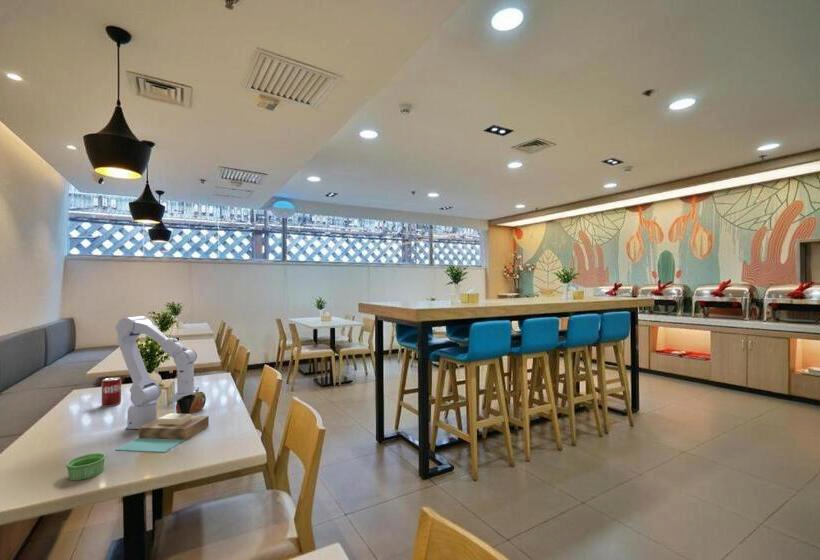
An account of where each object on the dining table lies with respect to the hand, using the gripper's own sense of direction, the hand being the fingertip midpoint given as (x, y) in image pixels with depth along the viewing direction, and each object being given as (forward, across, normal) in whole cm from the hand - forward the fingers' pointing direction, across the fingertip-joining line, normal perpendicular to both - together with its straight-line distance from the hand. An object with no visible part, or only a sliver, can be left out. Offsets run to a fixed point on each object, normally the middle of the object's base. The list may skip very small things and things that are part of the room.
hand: (185, 414), depth 154 cm
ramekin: (+5, -39, +4) cm, 39 cm away
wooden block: (+5, -6, 0) cm, 7 cm away
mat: (+5, -18, 0) cm, 19 cm away
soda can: (+5, +23, +53) cm, 58 cm away
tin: (+5, +15, +8) cm, 18 cm away
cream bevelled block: (+1, -6, 0) cm, 6 cm away
